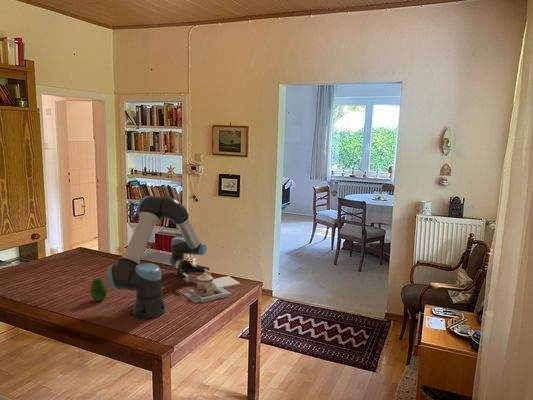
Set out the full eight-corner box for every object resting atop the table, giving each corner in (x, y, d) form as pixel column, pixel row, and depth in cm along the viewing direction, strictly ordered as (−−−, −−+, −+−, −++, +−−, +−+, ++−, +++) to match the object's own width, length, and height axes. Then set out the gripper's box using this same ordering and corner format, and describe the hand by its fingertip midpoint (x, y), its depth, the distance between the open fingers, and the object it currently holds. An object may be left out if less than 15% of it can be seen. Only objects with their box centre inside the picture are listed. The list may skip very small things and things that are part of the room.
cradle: (195, 304, 206) (195, 300, 206) (183, 294, 218) (183, 291, 218) (232, 295, 219) (232, 291, 218) (219, 286, 231) (219, 283, 231)
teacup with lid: (193, 294, 219) (192, 274, 217) (203, 289, 227) (203, 269, 225) (210, 299, 213) (210, 278, 211) (220, 293, 221) (220, 273, 219)
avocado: (91, 298, 211) (90, 276, 209) (107, 296, 214) (106, 275, 212) (90, 304, 204) (89, 281, 202) (107, 302, 206) (106, 279, 204)
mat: (219, 289, 227) (219, 287, 227) (207, 281, 239) (207, 280, 238) (240, 284, 235) (240, 282, 235) (228, 277, 247) (228, 276, 246)
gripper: (202, 268, 251) (218, 278, 234) (164, 276, 237) (178, 287, 220) (202, 257, 250) (218, 266, 233) (164, 263, 236) (178, 273, 219)
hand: (199, 276), depth 226 cm, fingers open, 13 cm apart
